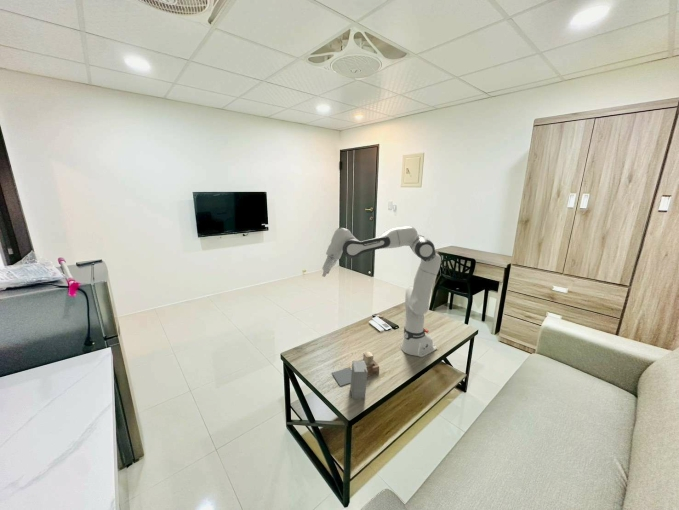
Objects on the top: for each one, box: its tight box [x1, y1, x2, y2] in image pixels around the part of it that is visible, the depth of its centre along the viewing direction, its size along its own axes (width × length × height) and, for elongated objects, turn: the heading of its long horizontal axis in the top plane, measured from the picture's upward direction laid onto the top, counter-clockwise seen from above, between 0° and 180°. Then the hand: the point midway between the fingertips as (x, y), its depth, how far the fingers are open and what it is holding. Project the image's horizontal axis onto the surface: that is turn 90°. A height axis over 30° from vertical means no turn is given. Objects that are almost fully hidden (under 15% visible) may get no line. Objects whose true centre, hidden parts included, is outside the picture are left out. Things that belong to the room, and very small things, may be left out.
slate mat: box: [331, 367, 352, 387], centre depth 145 cm, size 11×11×1 cm
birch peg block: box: [362, 351, 374, 368], centre depth 150 cm, size 4×4×10 cm
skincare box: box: [349, 360, 368, 400], centre depth 132 cm, size 8×7×16 cm
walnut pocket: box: [358, 359, 380, 377], centre depth 150 cm, size 9×9×4 cm
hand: (325, 274), depth 161 cm, fingers open, 8 cm apart
